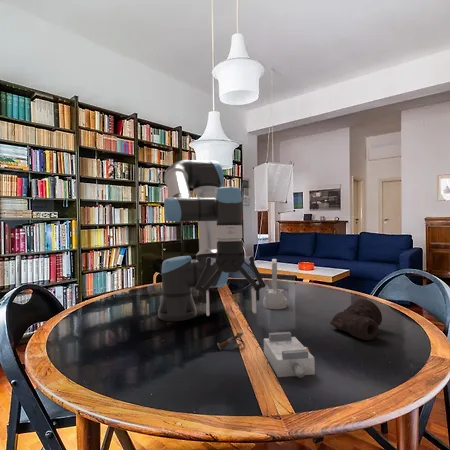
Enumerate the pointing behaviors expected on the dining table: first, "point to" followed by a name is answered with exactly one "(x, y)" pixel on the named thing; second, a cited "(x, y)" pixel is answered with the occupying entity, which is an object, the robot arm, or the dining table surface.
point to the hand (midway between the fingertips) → (231, 313)
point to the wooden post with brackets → (232, 341)
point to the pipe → (359, 319)
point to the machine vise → (288, 355)
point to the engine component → (274, 292)
